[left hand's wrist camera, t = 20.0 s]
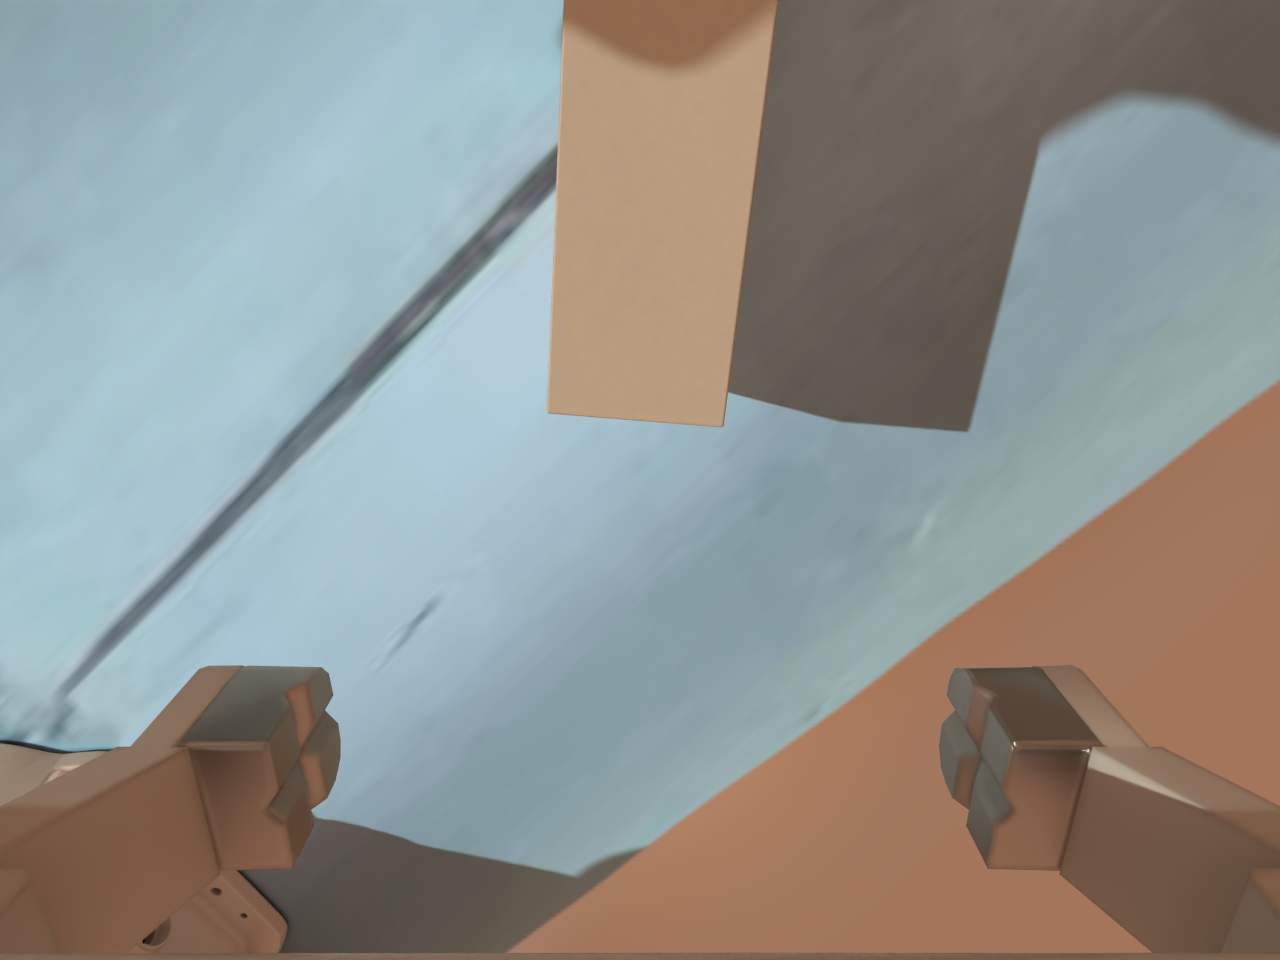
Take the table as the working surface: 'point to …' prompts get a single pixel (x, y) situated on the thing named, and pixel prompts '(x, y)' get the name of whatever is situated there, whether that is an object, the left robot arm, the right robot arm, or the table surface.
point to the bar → (654, 203)
